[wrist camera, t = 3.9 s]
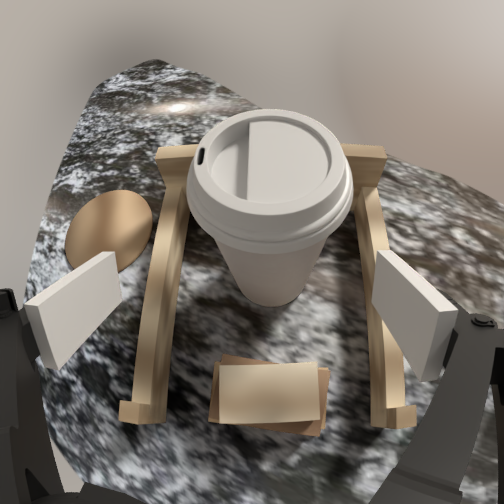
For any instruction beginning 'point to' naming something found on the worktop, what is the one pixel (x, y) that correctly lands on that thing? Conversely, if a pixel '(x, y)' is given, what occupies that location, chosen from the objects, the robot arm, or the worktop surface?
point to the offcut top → (268, 393)
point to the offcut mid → (289, 427)
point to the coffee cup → (270, 198)
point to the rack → (168, 277)
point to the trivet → (110, 229)
